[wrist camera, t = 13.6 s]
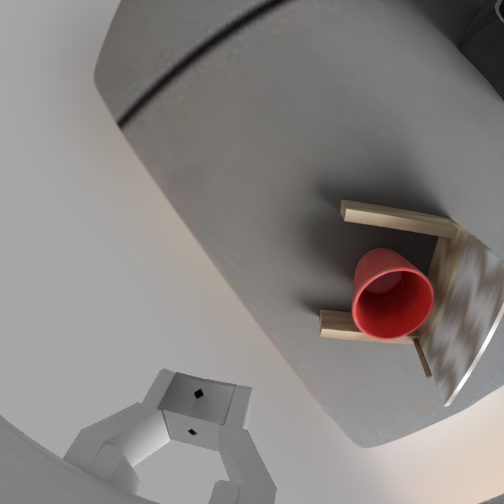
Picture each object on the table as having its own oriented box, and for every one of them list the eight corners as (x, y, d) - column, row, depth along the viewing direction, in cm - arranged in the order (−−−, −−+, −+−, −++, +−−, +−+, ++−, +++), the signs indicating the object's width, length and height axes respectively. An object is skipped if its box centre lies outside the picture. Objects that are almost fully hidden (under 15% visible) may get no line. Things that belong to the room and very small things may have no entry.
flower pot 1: (383, 312, 44) (397, 352, 35) (330, 281, 43) (335, 319, 34) (425, 261, 39) (449, 294, 30) (371, 223, 39) (389, 250, 30)
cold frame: (341, 199, 38) (367, 252, 22) (451, 218, 36) (519, 274, 20) (319, 316, 46) (320, 406, 29) (416, 325, 44) (448, 405, 27)
